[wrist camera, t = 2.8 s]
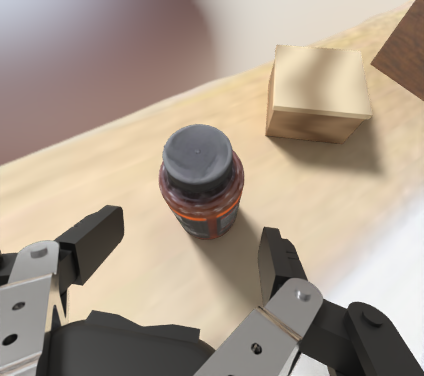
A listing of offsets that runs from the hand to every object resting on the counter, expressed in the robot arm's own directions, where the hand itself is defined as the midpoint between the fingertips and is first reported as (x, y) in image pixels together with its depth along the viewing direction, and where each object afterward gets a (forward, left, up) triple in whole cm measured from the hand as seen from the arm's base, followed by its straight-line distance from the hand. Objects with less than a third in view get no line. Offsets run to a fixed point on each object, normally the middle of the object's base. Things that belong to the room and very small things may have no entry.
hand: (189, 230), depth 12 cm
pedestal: (-10, -19, -9) cm, 23 cm away
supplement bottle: (0, -4, -10) cm, 10 cm away
